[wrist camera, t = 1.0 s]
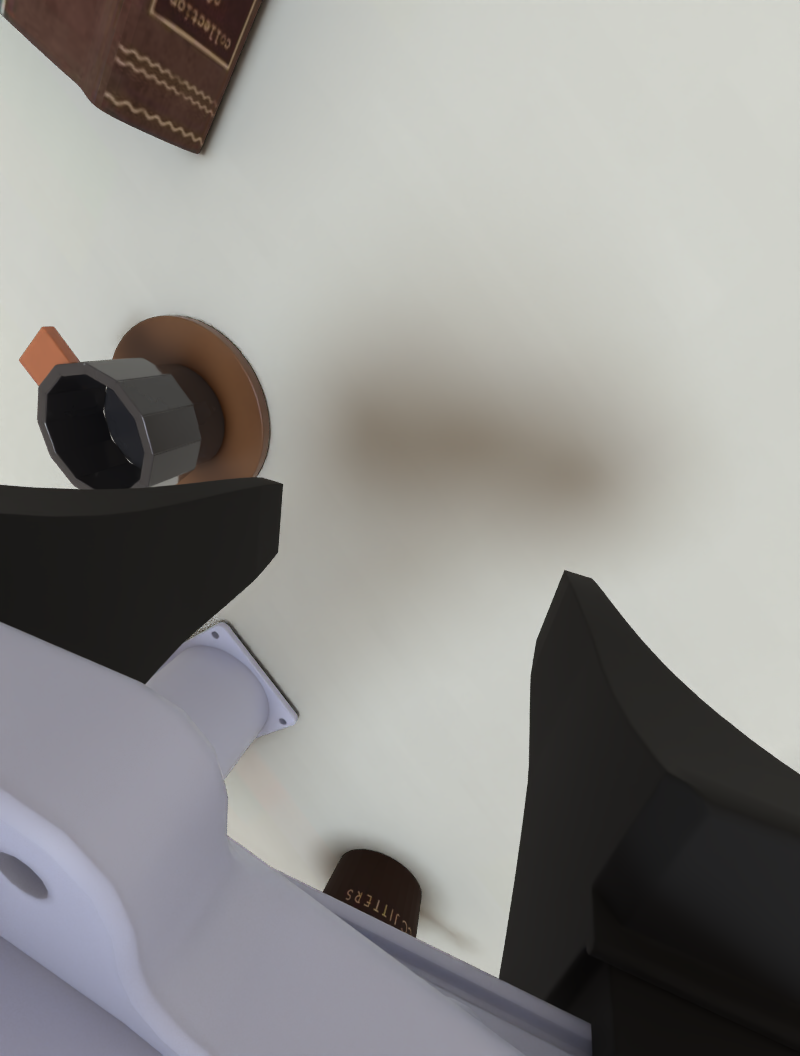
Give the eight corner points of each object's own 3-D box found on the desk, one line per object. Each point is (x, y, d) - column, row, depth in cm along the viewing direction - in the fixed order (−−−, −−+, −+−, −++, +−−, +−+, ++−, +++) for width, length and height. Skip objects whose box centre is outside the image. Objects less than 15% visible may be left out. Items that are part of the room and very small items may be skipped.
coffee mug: (303, 848, 35) (219, 1020, 27) (387, 828, 31) (320, 1022, 23) (395, 951, 37) (344, 1144, 28) (485, 944, 33) (458, 1166, 24)
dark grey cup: (185, 489, 25) (104, 525, 20) (98, 373, 24) (-7, 384, 19) (252, 435, 22) (176, 462, 18) (159, 302, 21) (54, 296, 17)
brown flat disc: (194, 525, 26) (187, 529, 26) (89, 386, 25) (79, 387, 24) (304, 444, 22) (298, 447, 22) (187, 271, 21) (177, 270, 20)
